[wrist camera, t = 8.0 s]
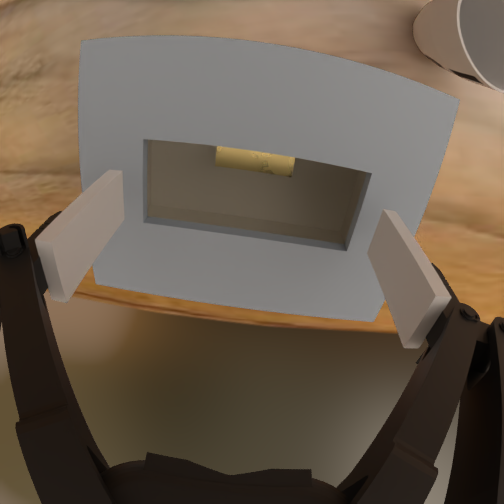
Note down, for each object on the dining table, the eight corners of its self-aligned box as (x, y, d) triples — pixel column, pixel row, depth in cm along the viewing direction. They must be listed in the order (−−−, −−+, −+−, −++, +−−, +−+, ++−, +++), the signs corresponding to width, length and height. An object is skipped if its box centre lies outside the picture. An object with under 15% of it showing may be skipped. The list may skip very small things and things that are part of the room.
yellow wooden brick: (223, 121, 25) (219, 129, 23) (295, 132, 25) (298, 141, 23) (219, 155, 27) (214, 166, 24) (288, 165, 27) (291, 177, 25)
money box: (153, 43, 22) (81, 40, 12) (386, 79, 23) (459, 99, 13) (145, 207, 31) (95, 283, 21) (343, 235, 32) (373, 321, 22)
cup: (404, 77, 22) (465, 92, 14) (388, -8, 18) (444, -31, 10) (475, 78, 21) (544, 98, 13) (463, 0, 17) (531, -6, 9)
